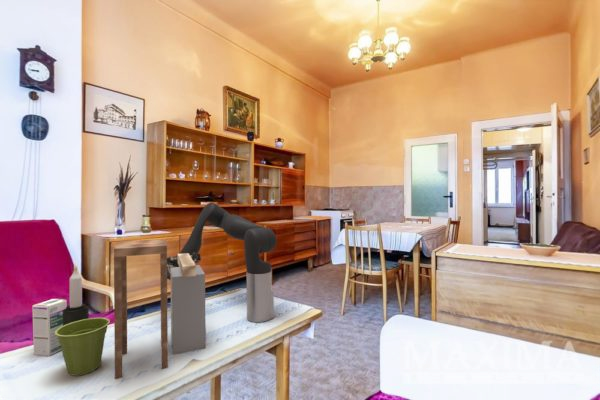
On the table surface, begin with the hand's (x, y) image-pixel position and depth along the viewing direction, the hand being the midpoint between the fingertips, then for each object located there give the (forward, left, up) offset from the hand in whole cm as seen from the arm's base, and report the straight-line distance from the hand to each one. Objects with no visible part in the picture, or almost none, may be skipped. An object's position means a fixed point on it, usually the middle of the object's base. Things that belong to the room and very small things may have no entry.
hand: (182, 257), depth 113 cm
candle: (+30, +11, -24) cm, 40 cm away
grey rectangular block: (0, +18, -23) cm, 29 cm away
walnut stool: (+12, +25, -23) cm, 36 cm away
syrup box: (+37, +7, -24) cm, 44 cm away
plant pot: (+26, +23, -24) cm, 42 cm away
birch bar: (0, +14, -1) cm, 14 cm away
